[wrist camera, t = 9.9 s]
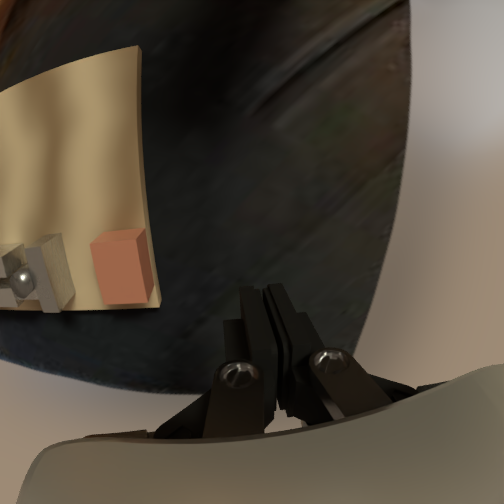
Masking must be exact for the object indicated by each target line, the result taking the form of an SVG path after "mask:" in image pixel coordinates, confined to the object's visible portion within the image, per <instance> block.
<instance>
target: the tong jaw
mask: <svg viewBox="0 0 504 504" xmlns="http://www.w3.org/2000/svg"><path fill="white" fill-rule="evenodd" d="M26 262H27V259H26V254H25V250H24V245H23V243H17V244H6V245H0V278H7V277H8V276H9V275H11V274H12V273H13V272H14V271H16V270H17V269H18V268H20V267H21V266H22V265H24V264H25V263H26Z"/></svg>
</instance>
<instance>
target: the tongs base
mask: <svg viewBox="0 0 504 504" xmlns="http://www.w3.org/2000/svg"><path fill="white" fill-rule="evenodd" d="M24 250H25V254H26V258H27V262H28V263H26V264H25V265H24V266H23V267H21V268H20V269H19V270H17V271H16V272H15V273H12V274H11V275H9V276H8V277H7V278H0V307H19V306H20V305H21V304H22V303H23V302H24V301H25V300H39V301H40V304H41V307H42V310H43V312H44V313H60V312H61V310H62V309H63V308H64V306H65V305H66V304H67V303H68V301H69V300H70V299H71V298H72V296H73V295H74V294H75V293H76V291H75V287H74V284H73V280H72V277H71V273H70V269H69V265H68V261H67V257H66V252H65V248H64V243H63V239H62V234H61V233H55V234H48V235H45V236H43V237H41V238H40V239H38V240H37V241H35V242H33V243H32V244H30V245H29V246H27V247H26V248H24Z"/></svg>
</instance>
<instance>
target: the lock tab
mask: <svg viewBox="0 0 504 504" xmlns="http://www.w3.org/2000/svg"><path fill="white" fill-rule="evenodd" d="M90 249H91V254H92V259H93V263H94V268H95V272H96V276H97V280H98V284H99V288H100V291H101V295H102V299H103V302H104V305H108V304H131V303H148V301H149V298H150V296H151V293H152V290H153V287H154V285H155V284H154V279H153V273H152V268H151V262H150V256H149V249H148V243H147V236H146V229H145V228H136V229H127V230H117V231H108V232H103V233H102V234H101V235H99V236H98V237H97V238H96V239H95V240H93V241H92V242H91V243H90Z"/></svg>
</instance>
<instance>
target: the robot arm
mask: <svg viewBox="0 0 504 504" xmlns="http://www.w3.org/2000/svg"><path fill="white" fill-rule="evenodd" d="M239 291H240V307H241V319H232V320H223V325H224V340H225V354H226V362H225V363H223V364H222V365H220V366H219V367H218V368H217V369H216V372H215V374H214V379H213V384H212V388H211V389H210V390H209V391H208V392H206V393H205V394H204V395H202V396H201V397H200V398H198V399H197V400H196V401H194V402H193V403H192V404H190V405H189V406H188V407H186V408H185V409H183V410H182V411H180V412H179V413H178V414H176V415H175V416H173V417H172V418H171V419H169V420H168V421H166V422H165V423H163V424H162V425H161V426H160V427H159V428H158V429H157V430H156V431H155V432H147V430H139V431H130V432H121V433H110V434H96V435H89V436H85V437H84V438H81V439H74V440H68V441H63V442H59V443H56V444H53V445H51V446H49V447H47V448H45V449H43V450H42V451H41V452H40V453H39V454H38V455H37V457H36V458H35V459H34V461H33V463H32V464H31V466H30V468H29V470H28V472H27V474H26V476H25V479H24V481H23V484H22V487H21V490H20V493H19V496H18V499H17V503H16V504H504V364H499V365H491V366H488V367H483V368H480V369H477V370H475V371H472V372H469V373H467V374H465V375H462V376H460V377H457V378H455V379H453V380H450V381H446V382H440V383H435V384H429V385H423V386H418V387H417V389H416V390H415V389H414V388H412V387H410V386H407V385H404V384H401V383H397V382H393V381H390V380H387V379H384V378H380V377H377V376H374V375H371V374H368V373H367V372H366V371H365V370H364V369H363V368H362V367H361V365H360V364H359V363H358V362H357V361H356V360H355V359H354V358H353V357H352V355H350V354H349V353H348V352H347V351H344V350H342V349H339V348H332V347H327V348H325V346H324V345H323V343H322V341H321V339H320V337H319V335H318V333H317V332H316V330H315V328H314V326H313V324H312V322H311V321H310V319H309V317H308V315H307V314H306V312H300V313H296V311H295V309H294V307H293V305H292V303H291V301H290V299H289V297H288V295H287V293H286V291H285V289H284V287H283V285H282V283H278V284H268V286H267V288H263V300H262V297H261V294H260V290H259V289H254V286H244V287H239ZM277 400H278V404H279V408H280V410H286V413H287V417H293V416H294V417H296V418H298V419H300V420H301V425H302V428H296V429H290V430H285V431H278V432H271V433H264V429H265V428H266V427H267V426H268V425H269V424H270V423H271V422H272V420H273V419H274V411H276V402H277Z"/></svg>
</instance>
